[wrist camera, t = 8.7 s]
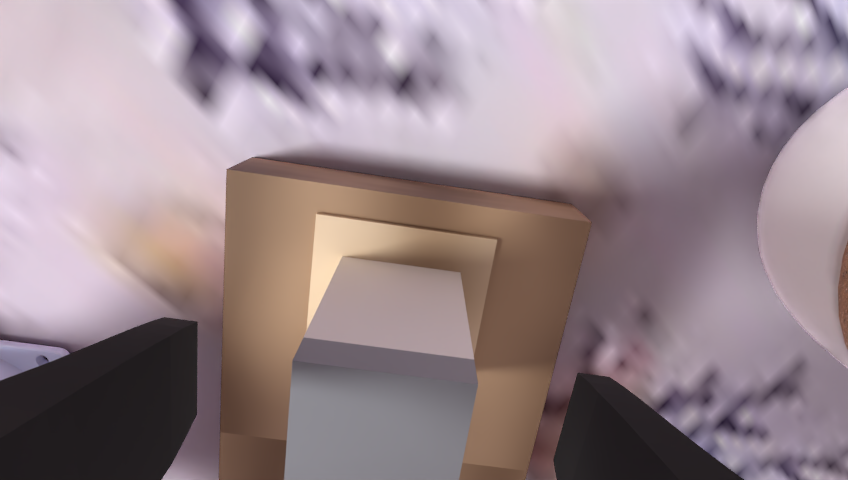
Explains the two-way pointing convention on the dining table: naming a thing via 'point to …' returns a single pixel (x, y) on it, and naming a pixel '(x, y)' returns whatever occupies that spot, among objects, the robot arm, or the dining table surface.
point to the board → (401, 244)
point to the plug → (383, 377)
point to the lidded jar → (811, 226)
